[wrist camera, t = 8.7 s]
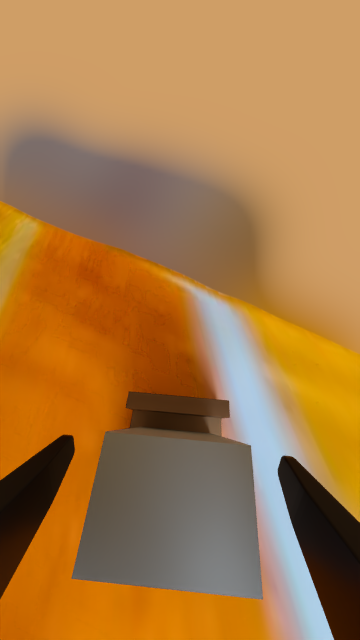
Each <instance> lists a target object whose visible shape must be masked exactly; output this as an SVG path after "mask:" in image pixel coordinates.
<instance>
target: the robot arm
mask: <svg viewBox="0 0 360 640" xmlns="http://www.w3.org/2000/svg"><path fill="white" fill-rule="evenodd" d="M74 451H75V447H74V438H73V436H72V435H62V436H60V437H59V438H57V439H56V440H55V441H53V442H52V443H51V444H49V445H48V446H47V447H45V448H44V449H42V450H41V451H40V452H38V453H37V454H36V455H34V456H33V457H32V458H30V459H29V460H27V461H26V462H25V463H23V464H22V465H21V466H19V467H18V468H17V469H15V470H14V471H12V472H11V473H10V474H8V475H7V476H6V477H4V478H3V479H2V480H0V599H1V597H2V595H3V593H4V591H5V589H6V588H7V586H8V584H9V582H10V580H11V578H12V576H13V575H14V573H15V571H16V569H17V567H18V565H19V564H20V562H21V560H22V558H23V556H24V554H25V552H26V551H27V549H28V547H29V545H30V543H31V541H32V539H33V538H34V536H35V534H36V532H37V530H38V528H39V526H40V525H41V523H42V521H43V519H44V517H45V515H46V513H47V512H48V510H49V508H50V506H51V504H52V502H53V500H54V498H55V496H56V494H57V492H58V489H59V487H60V485H61V483H62V480H63V478H64V476H65V474H66V471H67V469H68V467H69V464H70V462H71V460H72V458H73V455H74ZM278 477H279V480H280V484H281V487H282V491H283V494H284V498H285V501H286V505H287V509H288V512H289V516H290V519H291V522H292V525H293V528H294V531H295V534H296V537H297V539H298V542H299V545H300V548H301V550H302V553H303V556H304V558H305V561H306V564H307V567H308V569H309V572H310V575H311V578H312V580H313V583H314V586H315V588H316V591H317V594H318V597H319V599H320V602H321V605H322V608H323V610H324V613H325V616H326V619H327V621H328V624H329V627H330V629H331V632H332V635H333V638H334V640H360V522H359V521H357V520H356V519H355V518H354V517H353V516H352V515H351V514H350V513H349V512H348V511H347V510H346V509H345V508H344V507H343V506H342V505H341V504H340V503H339V502H338V501H337V500H336V499H335V498H334V497H333V496H332V495H331V494H330V493H329V492H328V491H327V490H326V489H325V488H324V487H323V486H322V485H321V484H320V483H319V482H318V481H317V480H316V479H315V478H314V477H313V476H312V475H311V474H310V473H309V472H308V471H307V470H306V469H305V468H304V467H303V466H302V465H301V464H300V463H299V462H298V461H297V460H296V459H295V458H293V457H291V456H282V458H281V461H280V464H279V467H278Z"/></svg>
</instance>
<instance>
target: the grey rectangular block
mask: <svg viewBox="0 0 360 640" xmlns="http://www.w3.org/2000/svg"><path fill="white" fill-rule="evenodd" d="M72 579H80V580H89V581H98V582H107V583H116V584H126V585H135V586H144V587H153V588H162V589H172V590H181V591H190V592H199V593H208V594H218V595H227V596H236V597H245V598H255V599H263V594H262V581H261V569H260V556H259V543H258V531H257V518H256V505H255V493H254V480H253V467H252V454H251V446H250V445H247V444H244V443H241V442H237V441H234V440H231V439H228V438H224V437H221V436H218V435H215V434H211V433H204V432H193V431H182V430H172V429H161V428H151V427H136V428H129V429H122V430H115V431H107V432H105V437H104V441H103V445H102V450H101V454H100V458H99V463H98V467H97V471H96V475H95V480H94V484H93V488H92V493H91V497H90V501H89V506H88V510H87V514H86V519H85V523H84V527H83V532H82V536H81V540H80V544H79V549H78V553H77V557H76V562H75V566H74V570H73V575H72Z"/></svg>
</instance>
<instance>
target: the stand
mask: <svg viewBox="0 0 360 640" xmlns="http://www.w3.org/2000/svg"><path fill="white" fill-rule="evenodd" d="M126 408H128V409H131V410H133V414H132V419H131V425H130V428H136V427H151V428H161V429H172V430H182V431H193V432H204V433H211V434H215V435H218V436H221V418H230V414H229V401H227V400H217V399H206V398H195V397H184V396H173V395H162V394H151V393H140V392H129V394H128V399H127V404H126Z"/></svg>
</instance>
